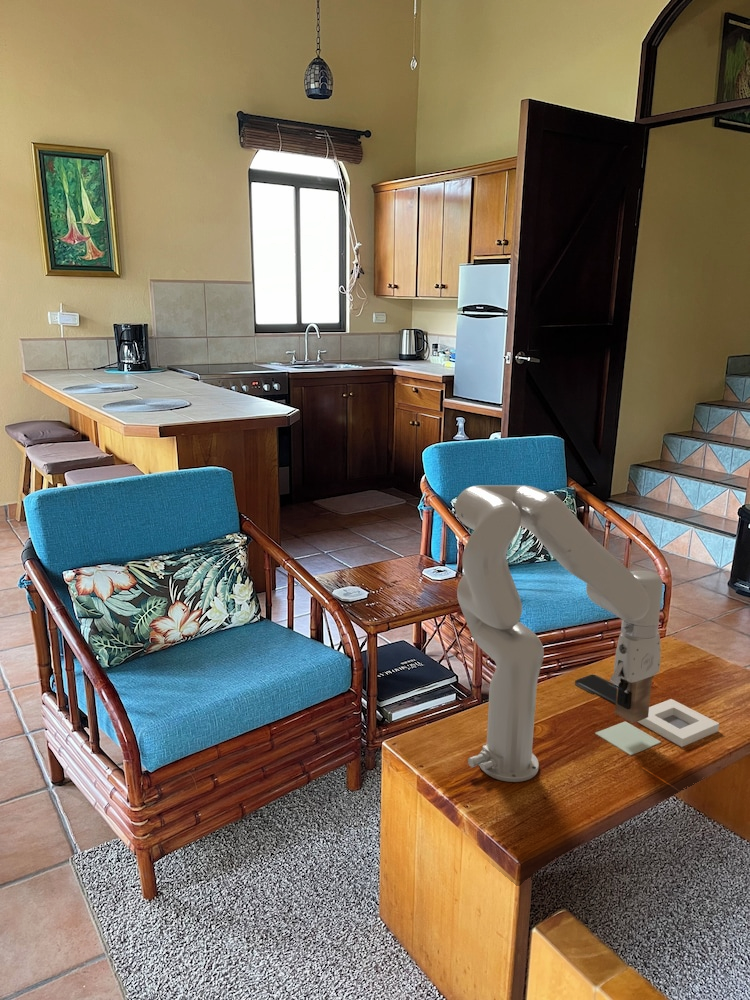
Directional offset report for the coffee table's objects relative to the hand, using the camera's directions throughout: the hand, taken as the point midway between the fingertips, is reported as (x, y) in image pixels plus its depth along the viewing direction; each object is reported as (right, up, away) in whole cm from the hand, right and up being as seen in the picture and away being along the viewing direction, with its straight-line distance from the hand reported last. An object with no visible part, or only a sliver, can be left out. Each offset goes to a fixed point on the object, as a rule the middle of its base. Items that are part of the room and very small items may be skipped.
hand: (632, 702), depth 164 cm
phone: (+1, -4, +24) cm, 24 cm away
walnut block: (0, -3, +1) cm, 3 cm away
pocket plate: (+13, -8, +7) cm, 17 cm away
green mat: (0, -9, +2) cm, 9 cm away
